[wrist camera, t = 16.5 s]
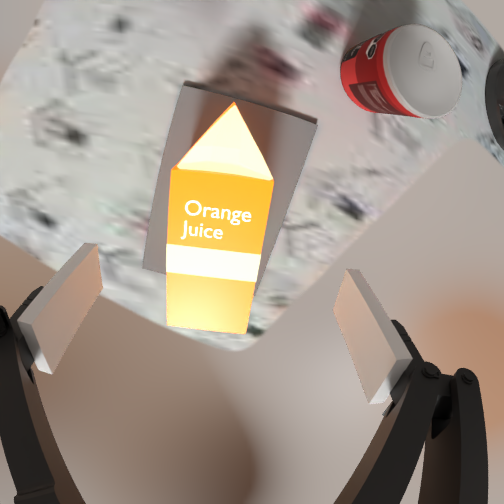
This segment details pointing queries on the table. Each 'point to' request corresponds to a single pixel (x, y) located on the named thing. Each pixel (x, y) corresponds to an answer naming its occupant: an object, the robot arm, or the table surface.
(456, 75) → the canned food
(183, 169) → the orange juice
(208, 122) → the mat
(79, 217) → the table surface
